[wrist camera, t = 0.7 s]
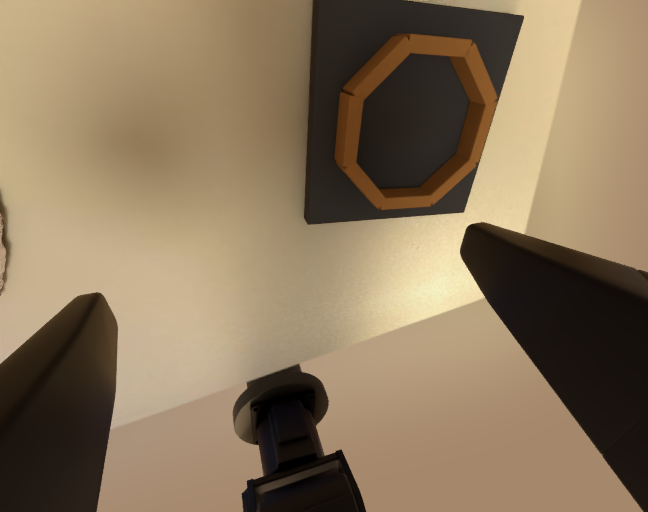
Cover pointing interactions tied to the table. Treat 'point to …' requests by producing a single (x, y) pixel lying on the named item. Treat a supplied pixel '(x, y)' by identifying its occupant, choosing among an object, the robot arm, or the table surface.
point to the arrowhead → (2, 254)
